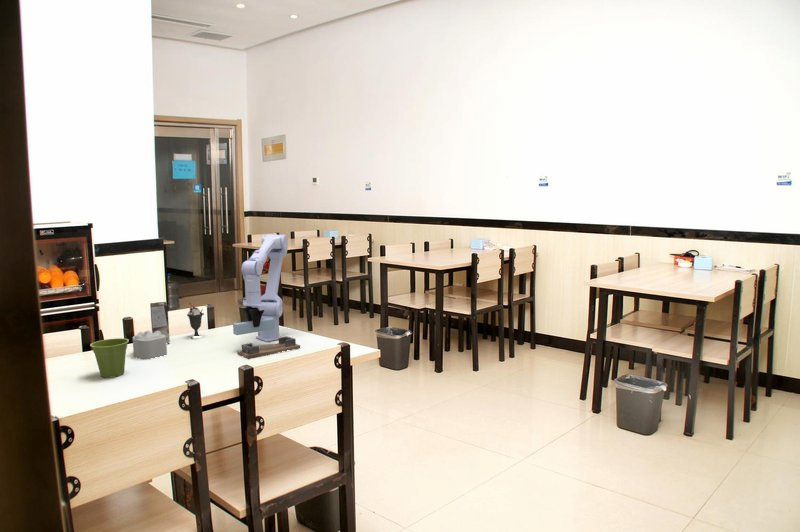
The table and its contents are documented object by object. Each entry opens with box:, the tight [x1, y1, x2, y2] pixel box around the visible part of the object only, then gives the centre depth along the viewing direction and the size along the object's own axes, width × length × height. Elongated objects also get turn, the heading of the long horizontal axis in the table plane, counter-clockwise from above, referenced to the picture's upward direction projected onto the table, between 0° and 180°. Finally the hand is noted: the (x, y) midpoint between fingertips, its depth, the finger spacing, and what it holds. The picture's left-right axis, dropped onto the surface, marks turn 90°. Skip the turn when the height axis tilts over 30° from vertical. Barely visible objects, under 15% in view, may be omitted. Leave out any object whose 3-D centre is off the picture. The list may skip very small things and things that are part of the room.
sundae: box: [186, 302, 205, 336], centre depth 255 cm, size 7×7×15 cm
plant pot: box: [89, 337, 130, 378], centre depth 205 cm, size 12×12×11 cm
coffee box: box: [149, 301, 171, 343], centre depth 248 cm, size 9×6×16 cm
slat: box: [232, 318, 275, 336], centre depth 236 cm, size 3×16×4 cm, turn 130°
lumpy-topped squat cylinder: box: [132, 330, 168, 360], centre depth 230 cm, size 10×13×9 cm
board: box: [236, 335, 301, 360], centre depth 232 cm, size 9×22×4 cm, turn 130°
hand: (254, 326), depth 236 cm, fingers closed on slat, 3 cm apart
